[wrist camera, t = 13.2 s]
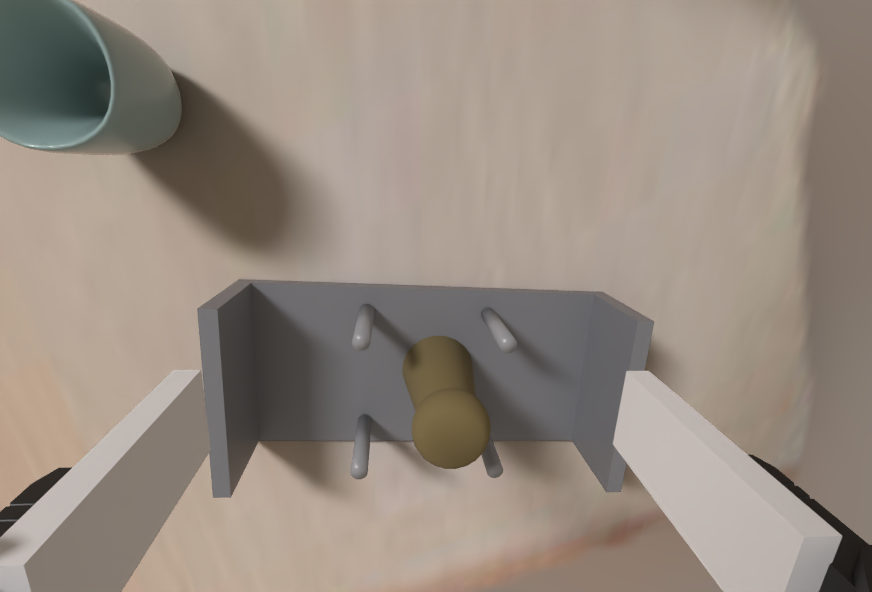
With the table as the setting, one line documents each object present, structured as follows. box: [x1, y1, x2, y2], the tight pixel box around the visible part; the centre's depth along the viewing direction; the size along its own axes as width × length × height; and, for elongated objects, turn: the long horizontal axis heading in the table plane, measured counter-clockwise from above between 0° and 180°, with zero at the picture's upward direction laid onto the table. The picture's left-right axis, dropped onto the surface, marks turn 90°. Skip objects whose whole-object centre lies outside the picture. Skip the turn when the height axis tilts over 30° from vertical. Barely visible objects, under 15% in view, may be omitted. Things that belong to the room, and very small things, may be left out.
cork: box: [402, 336, 491, 469], centre depth 33 cm, size 6×6×11 cm
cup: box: [0, 0, 182, 155], centre depth 27 cm, size 8×8×10 cm
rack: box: [197, 279, 654, 498], centre depth 35 cm, size 30×14×8 cm, turn 87°
